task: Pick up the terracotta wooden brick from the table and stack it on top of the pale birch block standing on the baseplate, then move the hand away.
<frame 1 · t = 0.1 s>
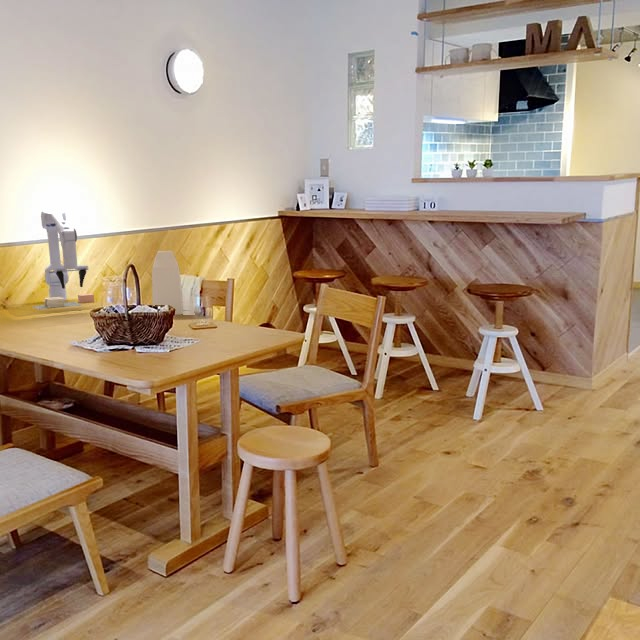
hand: (72, 287, 323), 10 cm above the table, fingers open, 7 cm apart
terracotta brick: (86, 305, 340), on the table
birch block: (54, 306, 329), point 1 cm above the table, touching baseplate
baseplate: (57, 308, 330), on the table
milk: (168, 313, 309), on the table
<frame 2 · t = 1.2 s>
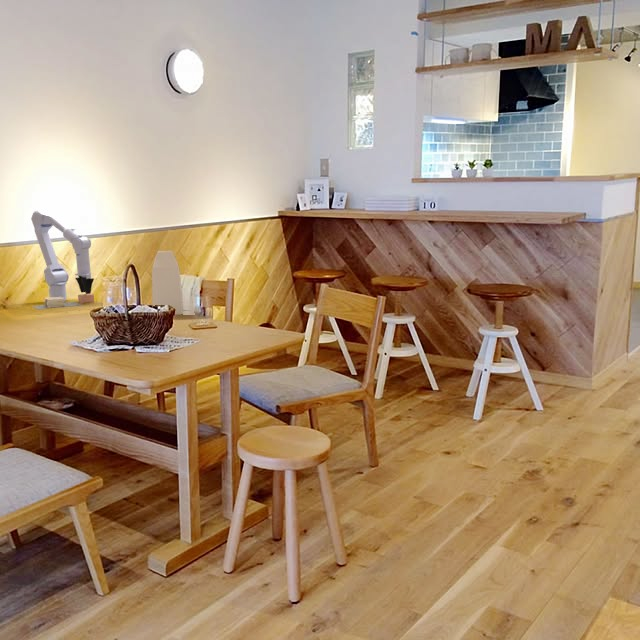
hand: (85, 293, 339), 6 cm above the table, fingers open, 7 cm apart
nothing on the table moved.
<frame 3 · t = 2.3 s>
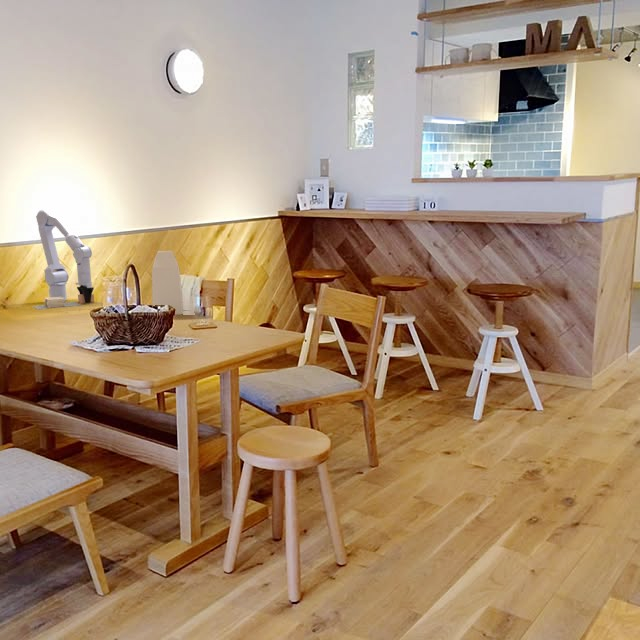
hand: (86, 302, 340), 1 cm above the table, fingers closed on terracotta brick, 4 cm apart
terracotta brick: (86, 305, 340), on the table, touching gripper
everything else where it was.
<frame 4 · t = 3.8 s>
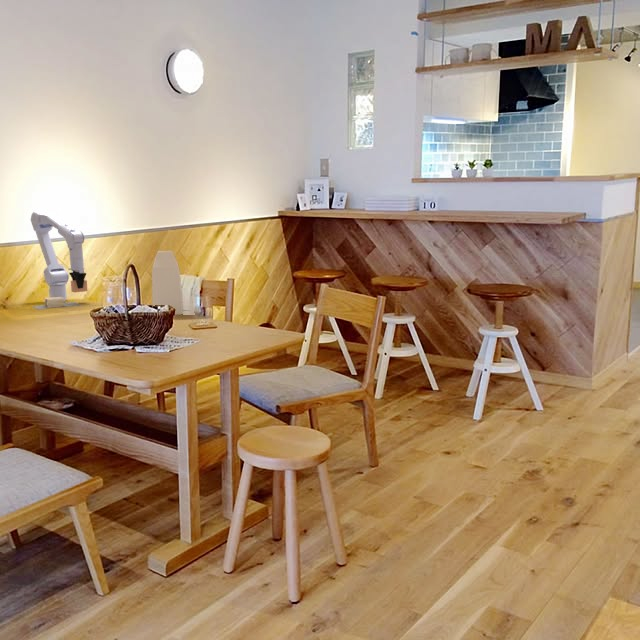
hand: (78, 287, 336), 8 cm above the table, fingers closed on terracotta brick, 4 cm apart
terracotta brick: (79, 291, 337), point 7 cm above the table, touching gripper
everything else where it was.
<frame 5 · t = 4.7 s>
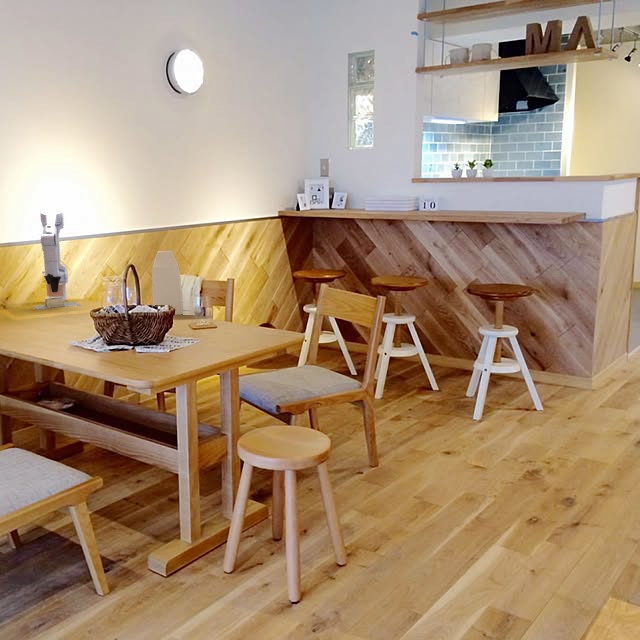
hand: (53, 291, 328), 8 cm above the table, fingers closed on terracotta brick, 4 cm apart
terracotta brick: (55, 295, 328), point 6 cm above the table, touching gripper
everything else where it was.
when the fingers open (7 cm above the table, at t = 5.3 s): terracotta brick stays where it is, resting on birch block.
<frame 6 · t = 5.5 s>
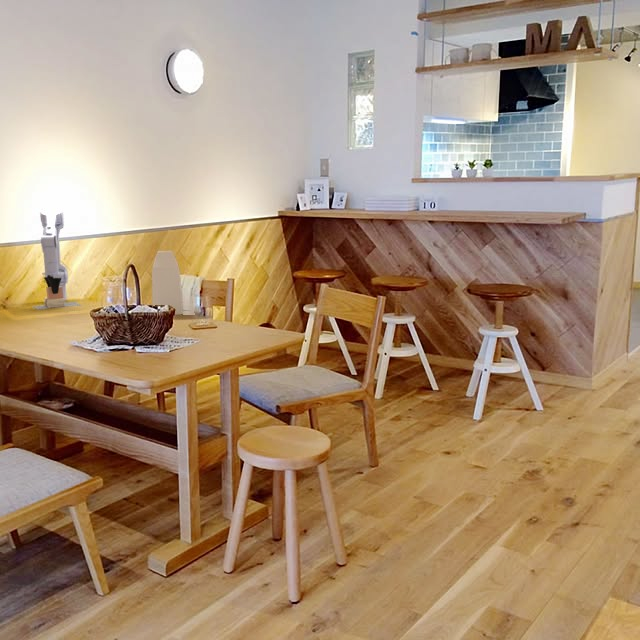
hand: (53, 292, 328), 7 cm above the table, fingers open, 6 cm apart
terracotta brick: (55, 298, 328), point 5 cm above the table, touching birch block
birch block: (54, 306, 329), point 1 cm above the table, touching baseplate, terracotta brick
everything else where it was.
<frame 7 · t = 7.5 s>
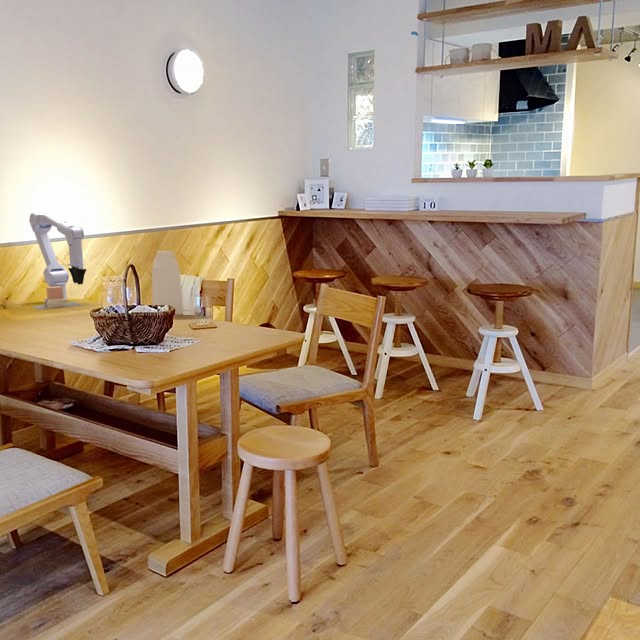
hand: (78, 283, 337), 10 cm above the table, fingers open, 7 cm apart
nothing on the table moved.
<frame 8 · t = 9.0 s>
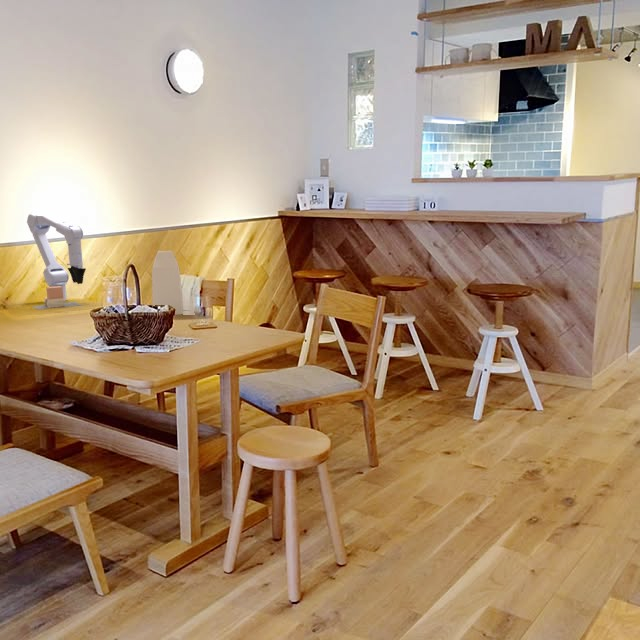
hand: (77, 283, 338), 10 cm above the table, fingers open, 7 cm apart
nothing on the table moved.
at the end: terracotta brick 0.4 cm off-centre on the birch block, point 3.5 cm above the birch block's base; terracotta brick tilted 0°; terracotta brick touching birch block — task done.
